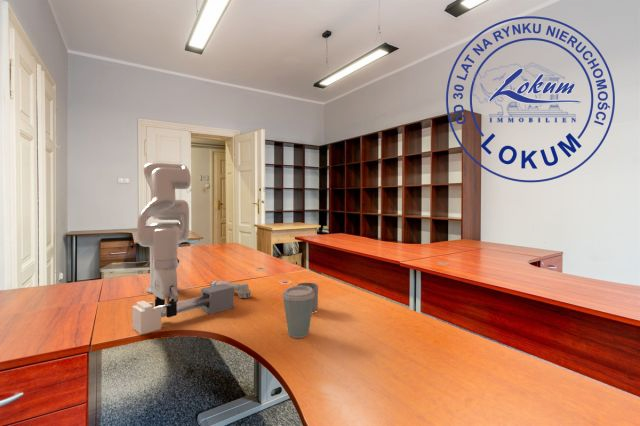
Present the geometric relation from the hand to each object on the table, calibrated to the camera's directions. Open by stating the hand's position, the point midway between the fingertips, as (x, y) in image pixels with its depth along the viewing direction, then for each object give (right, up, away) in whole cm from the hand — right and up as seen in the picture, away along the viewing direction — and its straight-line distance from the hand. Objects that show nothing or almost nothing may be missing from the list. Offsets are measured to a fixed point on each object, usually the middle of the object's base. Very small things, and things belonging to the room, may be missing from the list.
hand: (165, 312), depth 110 cm
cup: (+49, -4, +16) cm, 51 cm away
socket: (-4, -4, -4) cm, 7 cm away
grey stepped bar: (+12, -3, +36) cm, 38 cm away
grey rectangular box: (+13, -3, +15) cm, 20 cm away
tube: (+3, -1, +3) cm, 5 cm away
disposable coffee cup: (+46, -5, -6) cm, 47 cm away
